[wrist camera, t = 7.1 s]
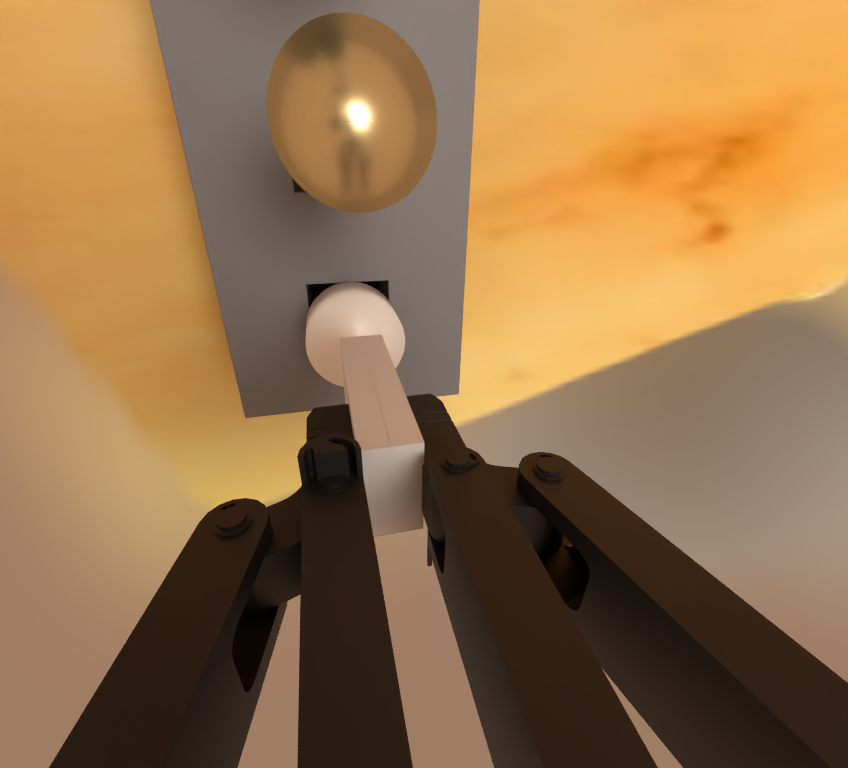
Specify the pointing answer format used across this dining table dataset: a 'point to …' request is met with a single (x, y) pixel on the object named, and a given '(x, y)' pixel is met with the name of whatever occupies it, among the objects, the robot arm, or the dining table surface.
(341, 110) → the amber round-headed peg
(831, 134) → the dining table surface
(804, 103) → the dining table surface
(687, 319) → the dining table surface
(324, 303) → the knob
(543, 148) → the dining table surface
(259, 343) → the mount block
